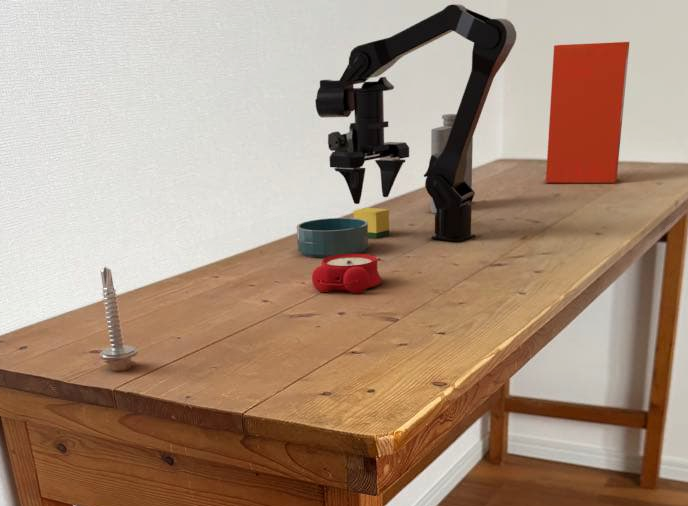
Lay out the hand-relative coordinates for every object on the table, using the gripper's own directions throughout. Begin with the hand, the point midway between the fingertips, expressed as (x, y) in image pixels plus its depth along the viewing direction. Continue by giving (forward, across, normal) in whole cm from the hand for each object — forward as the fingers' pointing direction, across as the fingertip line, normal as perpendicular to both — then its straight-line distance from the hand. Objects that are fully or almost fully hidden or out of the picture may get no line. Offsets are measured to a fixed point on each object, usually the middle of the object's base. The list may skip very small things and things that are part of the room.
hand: (371, 200), depth 192 cm
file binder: (+7, -83, +3) cm, 83 cm away
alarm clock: (+7, +37, +25) cm, 45 cm away
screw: (+7, +86, +28) cm, 91 cm away
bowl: (+7, +16, +3) cm, 18 cm away
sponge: (+7, 0, 0) cm, 7 cm away
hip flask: (+7, -35, -5) cm, 36 cm away
